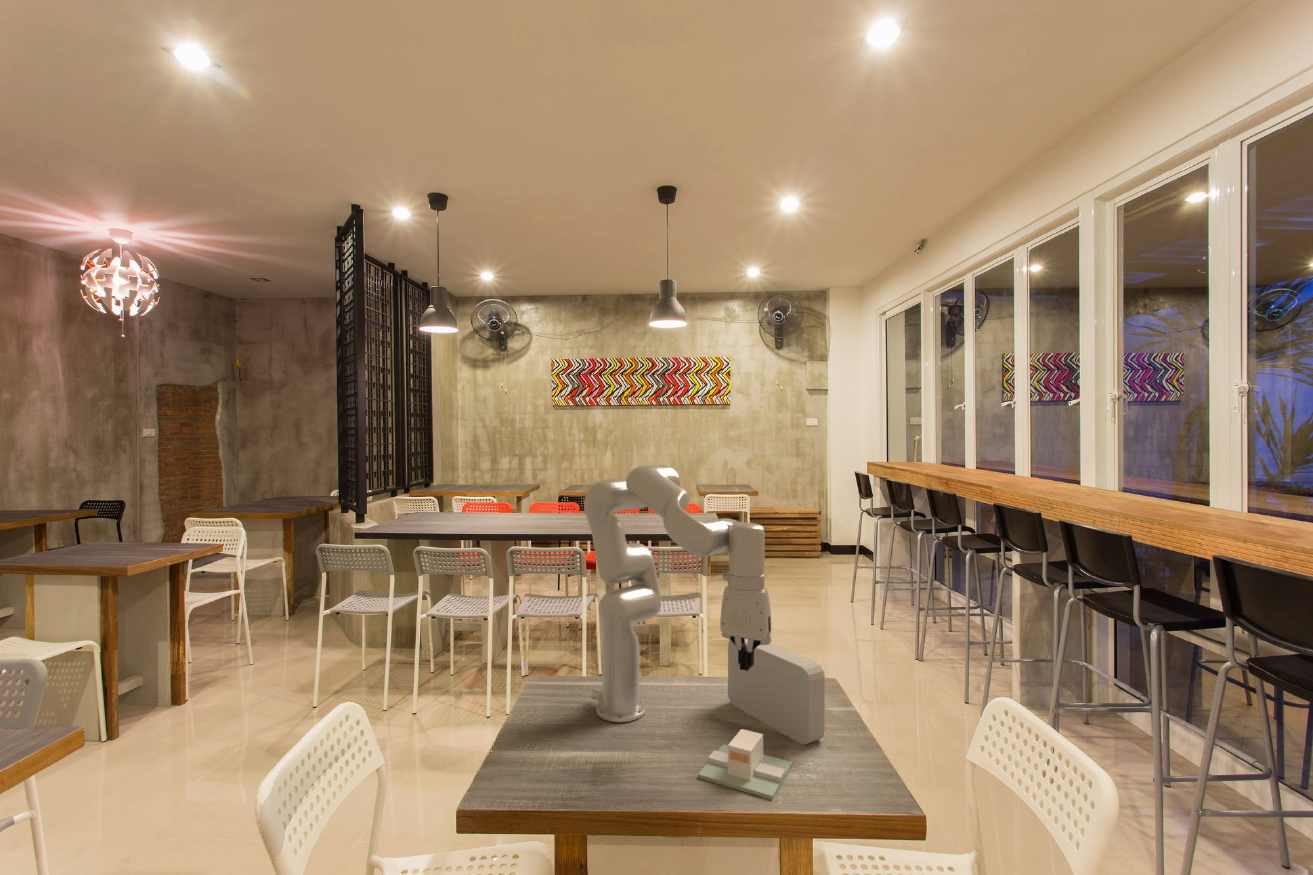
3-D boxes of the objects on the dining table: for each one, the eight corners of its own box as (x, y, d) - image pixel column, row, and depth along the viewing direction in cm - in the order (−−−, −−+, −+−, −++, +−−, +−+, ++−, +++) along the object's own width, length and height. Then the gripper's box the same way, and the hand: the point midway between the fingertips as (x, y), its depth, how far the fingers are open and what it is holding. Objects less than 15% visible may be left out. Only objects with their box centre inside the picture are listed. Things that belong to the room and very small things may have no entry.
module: (727, 774, 125) (727, 745, 125) (741, 756, 132) (741, 728, 132) (750, 780, 123) (750, 751, 123) (763, 761, 130) (763, 734, 130)
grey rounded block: (831, 739, 141) (831, 663, 141) (808, 749, 137) (809, 670, 137) (748, 696, 165) (749, 630, 165) (727, 702, 161) (727, 635, 161)
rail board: (698, 777, 125) (698, 769, 125) (723, 747, 138) (723, 739, 138) (772, 800, 118) (772, 790, 118) (792, 765, 130) (792, 757, 130)
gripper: (707, 581, 128) (706, 667, 128) (775, 590, 121) (774, 681, 121) (720, 574, 135) (719, 656, 135) (786, 582, 127) (785, 668, 128)
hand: (745, 668), depth 128 cm, fingers closed
